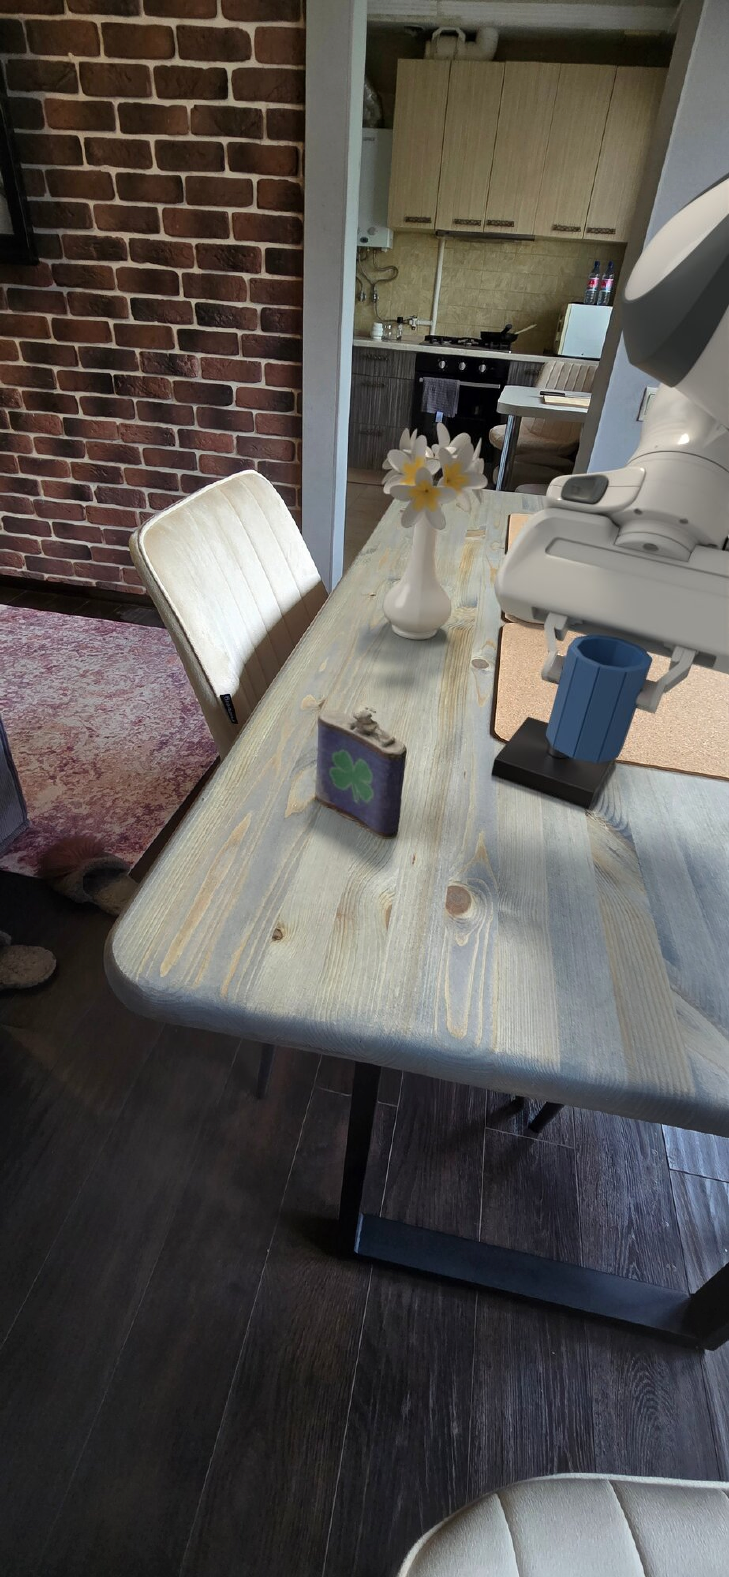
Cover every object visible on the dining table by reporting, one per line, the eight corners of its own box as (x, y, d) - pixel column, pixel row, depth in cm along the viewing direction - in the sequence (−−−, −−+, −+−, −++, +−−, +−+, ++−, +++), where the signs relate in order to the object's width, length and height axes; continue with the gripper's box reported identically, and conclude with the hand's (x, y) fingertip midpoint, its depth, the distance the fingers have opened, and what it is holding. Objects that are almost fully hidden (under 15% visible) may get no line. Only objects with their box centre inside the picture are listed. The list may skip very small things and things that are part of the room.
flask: (309, 798, 68) (312, 696, 62) (330, 785, 70) (335, 685, 64) (386, 843, 64) (399, 739, 58) (407, 828, 66) (421, 726, 60)
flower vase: (369, 660, 92) (386, 445, 78) (369, 603, 107) (384, 413, 92) (472, 667, 93) (508, 454, 78) (458, 609, 108) (487, 421, 93)
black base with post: (614, 761, 77) (636, 694, 72) (588, 809, 70) (611, 738, 65) (524, 731, 81) (539, 666, 76) (490, 775, 74) (505, 705, 69)
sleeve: (629, 736, 57) (658, 648, 53) (610, 771, 53) (641, 679, 49) (559, 714, 59) (583, 627, 55) (536, 746, 55) (559, 655, 51)
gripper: (805, 580, 54) (739, 752, 53) (538, 520, 61) (474, 670, 60) (831, 533, 48) (756, 725, 47) (532, 473, 55) (461, 638, 54)
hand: (596, 694), depth 53 cm, fingers closed on sleeve, 5 cm apart
